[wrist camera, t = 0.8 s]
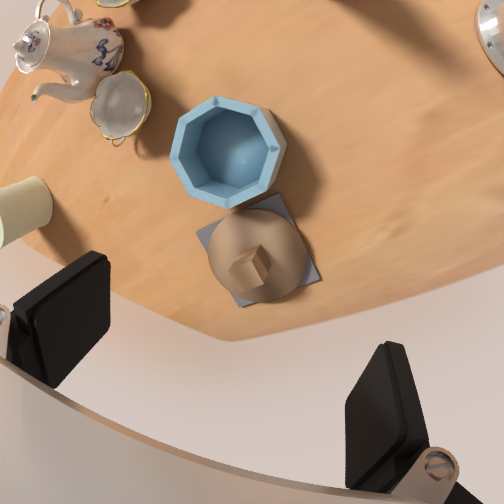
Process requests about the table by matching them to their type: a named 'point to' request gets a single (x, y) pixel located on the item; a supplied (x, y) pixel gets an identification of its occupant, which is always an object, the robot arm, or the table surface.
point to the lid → (257, 255)
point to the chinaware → (87, 68)
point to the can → (24, 208)
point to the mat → (278, 206)
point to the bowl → (227, 151)
